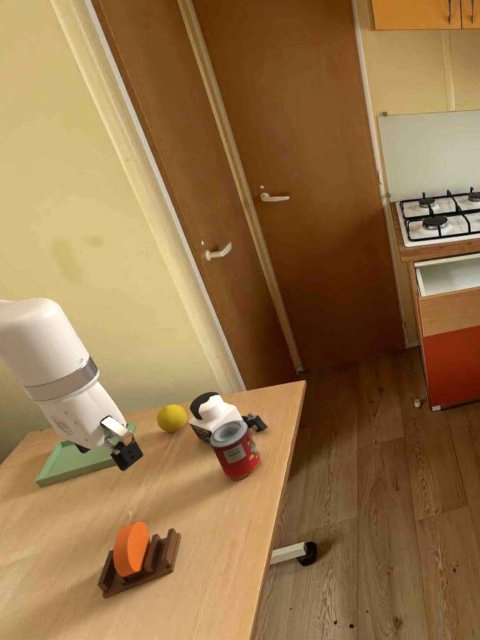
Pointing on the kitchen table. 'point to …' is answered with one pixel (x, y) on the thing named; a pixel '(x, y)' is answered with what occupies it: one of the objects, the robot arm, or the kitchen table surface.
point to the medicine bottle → (211, 414)
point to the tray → (76, 460)
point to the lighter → (254, 422)
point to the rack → (155, 565)
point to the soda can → (235, 449)
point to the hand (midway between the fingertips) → (112, 454)
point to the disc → (131, 549)
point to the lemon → (171, 418)
